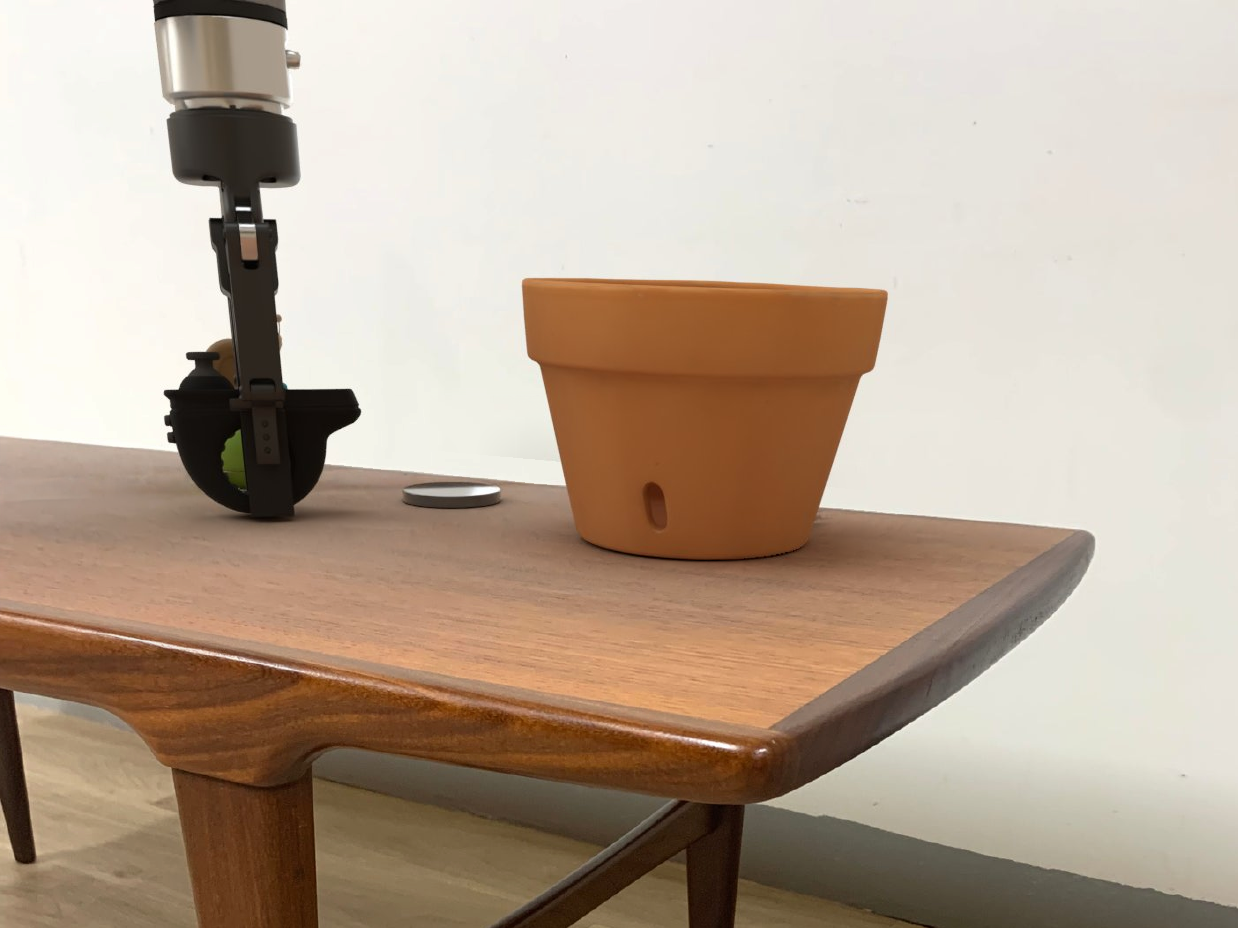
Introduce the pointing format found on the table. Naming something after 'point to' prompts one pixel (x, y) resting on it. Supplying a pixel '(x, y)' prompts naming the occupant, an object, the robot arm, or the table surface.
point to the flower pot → (698, 406)
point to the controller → (211, 423)
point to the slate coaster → (451, 494)
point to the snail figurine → (234, 445)
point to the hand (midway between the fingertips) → (270, 508)
